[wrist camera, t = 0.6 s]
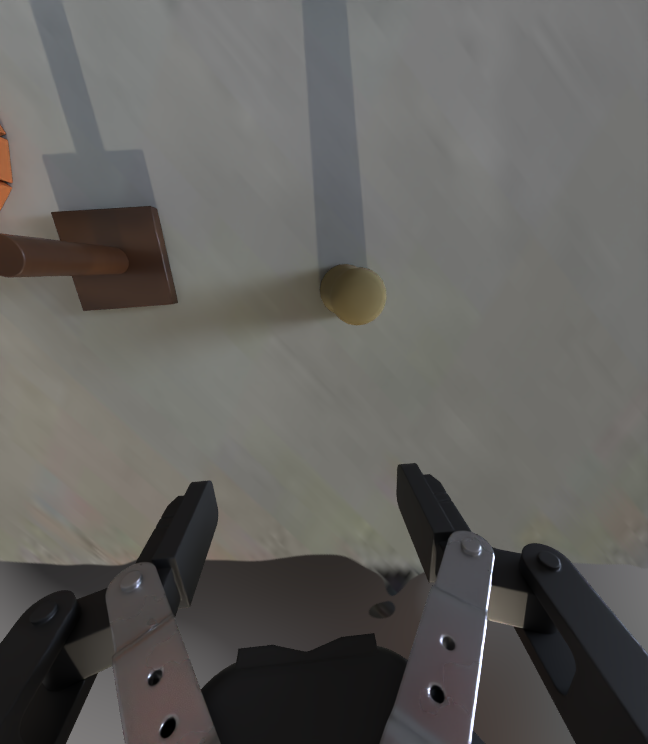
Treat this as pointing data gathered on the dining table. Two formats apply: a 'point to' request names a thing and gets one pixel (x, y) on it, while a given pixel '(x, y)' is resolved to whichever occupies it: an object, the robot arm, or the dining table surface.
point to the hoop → (4, 169)
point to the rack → (99, 257)
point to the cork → (353, 293)
